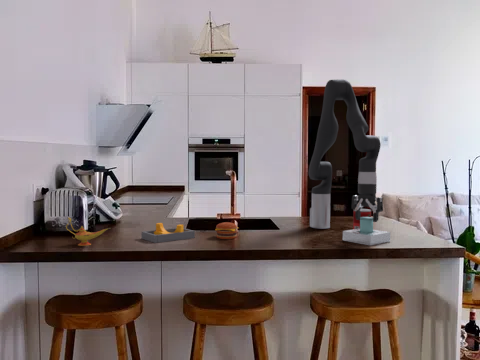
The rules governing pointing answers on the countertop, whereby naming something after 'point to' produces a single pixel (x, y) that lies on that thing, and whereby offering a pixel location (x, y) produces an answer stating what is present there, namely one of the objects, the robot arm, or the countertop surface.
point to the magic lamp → (85, 234)
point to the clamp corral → (168, 235)
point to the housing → (366, 237)
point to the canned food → (363, 214)
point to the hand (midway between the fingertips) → (366, 220)
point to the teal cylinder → (366, 224)
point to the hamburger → (226, 230)
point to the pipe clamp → (161, 230)
